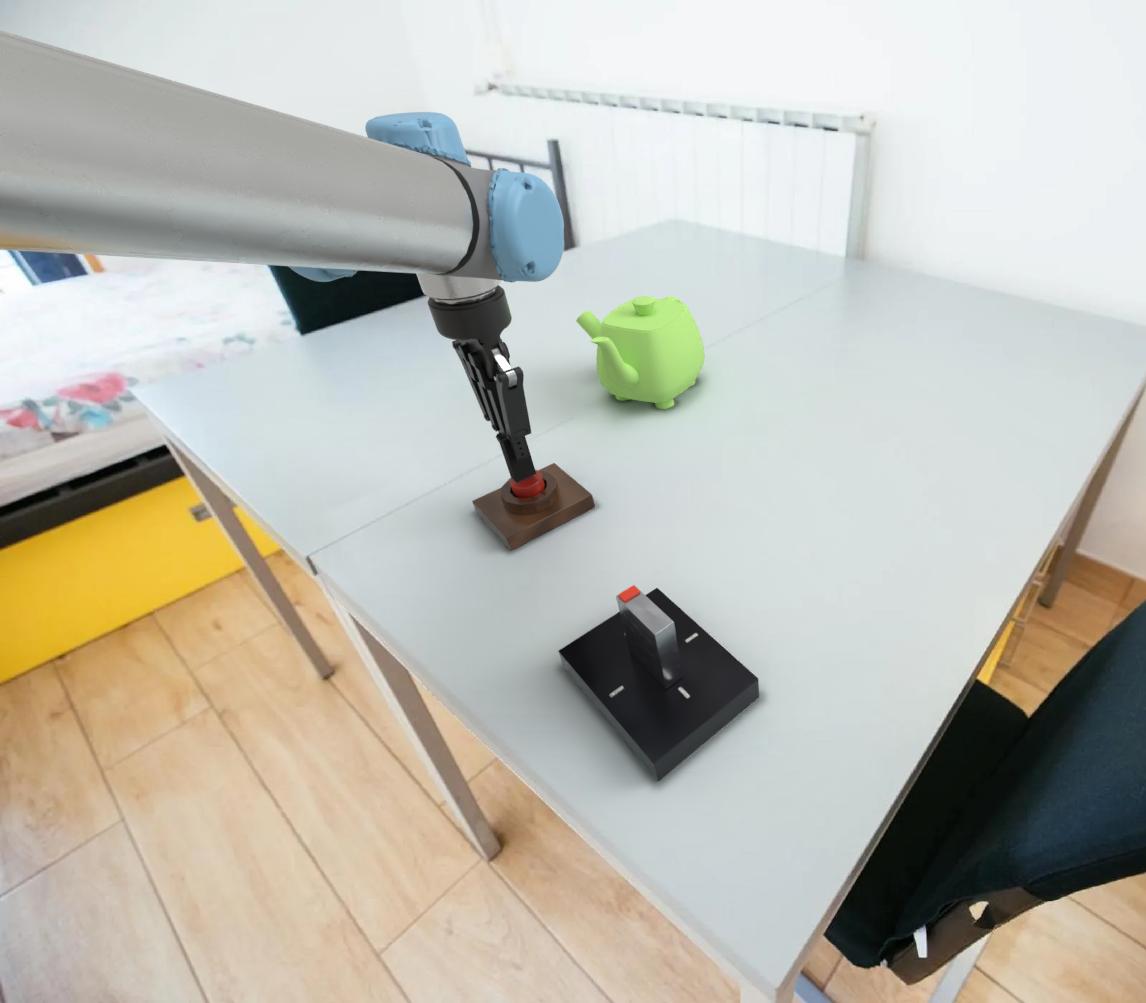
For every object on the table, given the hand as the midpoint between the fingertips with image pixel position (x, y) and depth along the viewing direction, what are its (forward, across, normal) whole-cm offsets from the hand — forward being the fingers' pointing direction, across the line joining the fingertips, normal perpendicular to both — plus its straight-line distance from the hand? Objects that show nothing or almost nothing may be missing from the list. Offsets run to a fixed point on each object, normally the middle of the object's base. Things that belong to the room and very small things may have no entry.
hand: (523, 475), depth 78 cm
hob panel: (+6, -33, +4) cm, 34 cm away
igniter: (+6, 0, 0) cm, 6 cm away
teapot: (+6, +17, -28) cm, 34 cm away
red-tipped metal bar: (+3, -33, +4) cm, 33 cm away
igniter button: (+2, 0, 0) cm, 2 cm away
